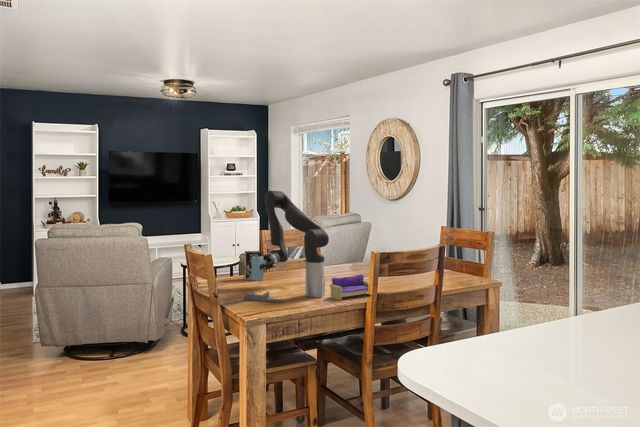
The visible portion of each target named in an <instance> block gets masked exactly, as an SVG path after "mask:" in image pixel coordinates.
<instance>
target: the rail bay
mask: <svg viewBox="0 0 640 427" xmlns="http://www.w3.org/2000/svg"><path fill="white" fill-rule="evenodd" d="M243 296H244V298H243V299H244V300H245V301H256V302H263V303H265V302H266V303H276V304H278V303H279V304H283V302H284V299H281V298H280V299H279V298H269V297H270V291H266V292H265V293H263V294H257V293H256V294H255V293H254V289H253V290H250V291H248V292H246V293H245V294H243Z"/></svg>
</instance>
